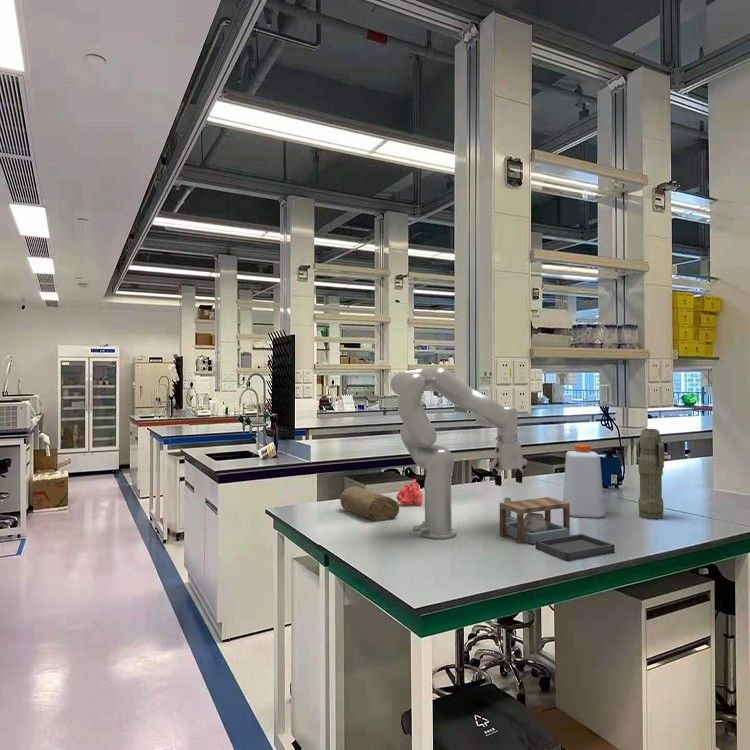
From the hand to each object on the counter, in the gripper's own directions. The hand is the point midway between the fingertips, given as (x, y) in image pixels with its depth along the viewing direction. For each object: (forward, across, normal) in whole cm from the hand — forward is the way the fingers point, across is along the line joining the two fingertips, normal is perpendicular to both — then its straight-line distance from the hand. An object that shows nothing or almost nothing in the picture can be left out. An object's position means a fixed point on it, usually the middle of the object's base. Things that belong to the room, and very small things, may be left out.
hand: (508, 483), depth 213 cm
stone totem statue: (+17, +58, -15) cm, 62 cm away
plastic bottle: (+17, +38, +1) cm, 42 cm away
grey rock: (+16, -1, -15) cm, 22 cm away
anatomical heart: (+15, -18, +46) cm, 52 cm away
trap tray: (+16, -1, -34) cm, 37 cm away
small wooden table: (+16, -1, -15) cm, 22 cm away
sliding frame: (+15, -1, -11) cm, 19 cm away
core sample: (+15, -42, +39) cm, 59 cm away
